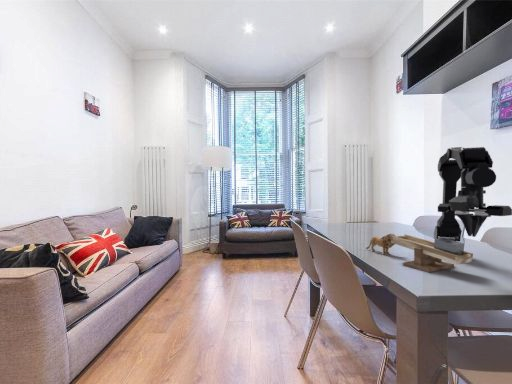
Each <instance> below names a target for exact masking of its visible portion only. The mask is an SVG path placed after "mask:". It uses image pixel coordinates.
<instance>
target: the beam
mask: <svg viewBox="0 0 512 384" xmlns="http://www.w3.org/2000/svg"><path fill="white" fill-rule="evenodd" d="M434 242H435V241H431V240H427V239H423V238H419V237H416V236H412V235H409V234H407V233H405V234H403V235H395V236H392V238H391V243H394V244H395V245H396V246H400V247H403V248H406V249H409V250H412V251H414V248H421V249H423V253H424V254H427V255H430V256H433V257H436V258H439V259H442V261H444V262H447V263H451V264H454V265H461V264H467V263H471V262H473V256H474V253H473V252H469V251H465V250H464V252H463V255H461V256H458V255H455V254H452V253H448V252H445V251H442V250H438V249H435V248H434Z"/></svg>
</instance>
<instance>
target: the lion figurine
mask: <svg viewBox="0 0 512 384" xmlns="http://www.w3.org/2000/svg"><path fill="white" fill-rule="evenodd" d="M392 236H396V234H395V233H389V234H386V235H383V236H382V237H378V236H375V235H374V236H372V237H371V239H370V242H369V245H368V246H367V247H365V249H367V250H368V249H369V248H370V247H371V249H370V250H371V252H372V253H375V248H374V247H376V246H378V247H381V248H382V253H383V255H384V256H386V255H389V254H390V252H389V249H390V248H392V247H393V246H395V245H396V244H394V243H391V238H392Z"/></svg>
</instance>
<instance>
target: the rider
mask: <svg viewBox="0 0 512 384" xmlns="http://www.w3.org/2000/svg"><path fill="white" fill-rule="evenodd" d="M446 238H447V237H443V238H439V239H434V241H433V242H434V248H435V249H438V250H442V251H445V252H448V253H452V254H455V255H458V256H461V255H463V252H464V251H465V250H464V249H465V242H464V243H463V242H461V241H460V242H459V241H453V240H449V239H446Z"/></svg>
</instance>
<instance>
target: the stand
mask: <svg viewBox="0 0 512 384" xmlns="http://www.w3.org/2000/svg"><path fill="white" fill-rule="evenodd" d="M413 252H414V253H413V254H414V255H413V260H410V261H409V260H408V261H404V262H402V266H404V267H408V268H412V269H416V270H420V271H423V272H427V273H431V272H436V271H437V272H438V271H440V270H441V271H442V270H445V269H452V268H455V264H454V263H451V262H448V261H443V260H442V259H439V258H436V257H433V256H430V255H427V254H424V253H423V249H421V248H414V250H413Z"/></svg>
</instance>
